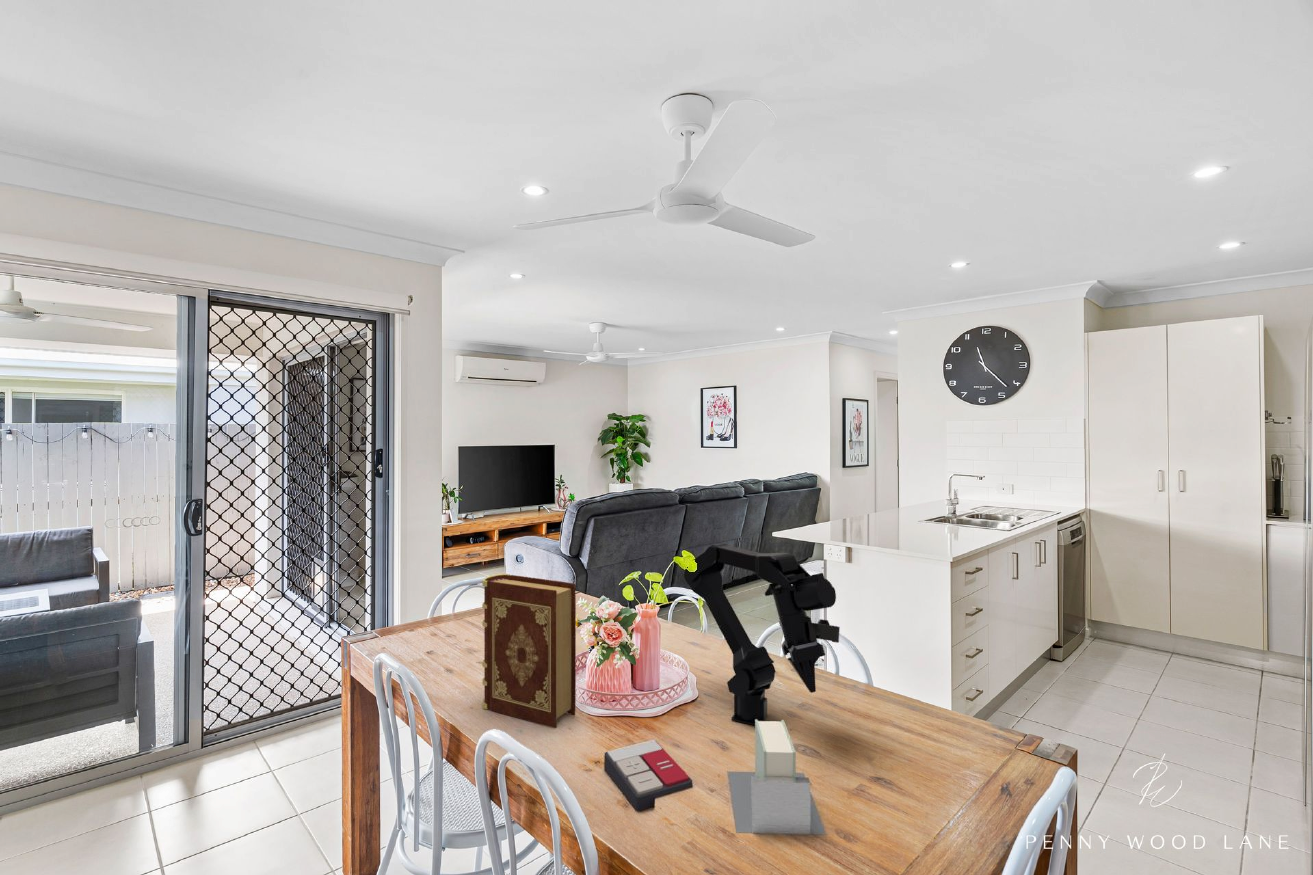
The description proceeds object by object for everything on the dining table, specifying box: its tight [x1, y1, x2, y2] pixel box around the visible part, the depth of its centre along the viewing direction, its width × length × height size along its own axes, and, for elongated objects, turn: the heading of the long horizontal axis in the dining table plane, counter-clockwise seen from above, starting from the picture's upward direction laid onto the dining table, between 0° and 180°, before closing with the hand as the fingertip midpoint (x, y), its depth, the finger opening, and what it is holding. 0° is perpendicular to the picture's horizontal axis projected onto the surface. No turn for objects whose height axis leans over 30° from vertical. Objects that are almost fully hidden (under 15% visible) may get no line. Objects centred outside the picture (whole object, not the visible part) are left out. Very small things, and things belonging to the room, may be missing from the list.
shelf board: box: [727, 770, 827, 836], centre depth 105 cm, size 18×14×2 cm
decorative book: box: [481, 573, 577, 729], centre depth 142 cm, size 22×8×30 cm, turn 62°
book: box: [754, 719, 797, 777], centre depth 103 cm, size 11×5×12 cm, turn 178°
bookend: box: [751, 776, 811, 835], centre depth 97 cm, size 2×9×8 cm, turn 88°
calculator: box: [603, 739, 693, 812], centre depth 113 cm, size 11×4×15 cm
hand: (812, 692), depth 125 cm, fingers closed
